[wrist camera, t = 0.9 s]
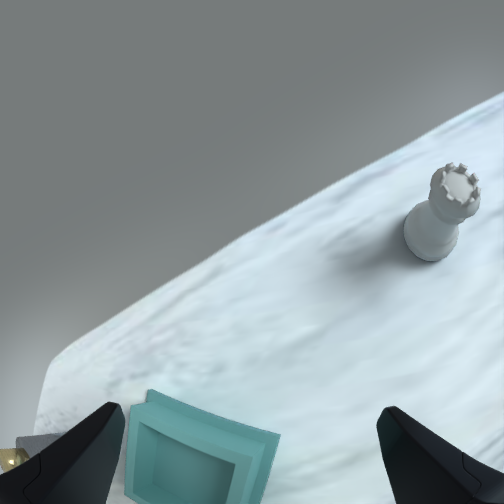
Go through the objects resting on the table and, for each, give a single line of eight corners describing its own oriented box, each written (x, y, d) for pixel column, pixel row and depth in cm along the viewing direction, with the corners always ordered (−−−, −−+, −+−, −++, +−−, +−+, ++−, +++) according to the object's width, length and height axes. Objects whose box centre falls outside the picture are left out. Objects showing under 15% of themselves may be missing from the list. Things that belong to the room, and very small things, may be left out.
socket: (280, 434, 18) (267, 451, 15) (249, 534, 15) (234, 554, 12) (152, 389, 22) (125, 393, 19) (140, 484, 20) (118, 495, 16)
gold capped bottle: (115, 442, 22) (12, 462, 10) (114, 474, 21) (20, 500, 9) (82, 418, 24) (-13, 425, 12) (82, 449, 23) (-6, 462, 11)
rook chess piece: (391, 241, 19) (410, 190, 12) (417, 197, 20) (439, 135, 12) (438, 274, 17) (480, 239, 10) (461, 228, 18) (502, 177, 10)
